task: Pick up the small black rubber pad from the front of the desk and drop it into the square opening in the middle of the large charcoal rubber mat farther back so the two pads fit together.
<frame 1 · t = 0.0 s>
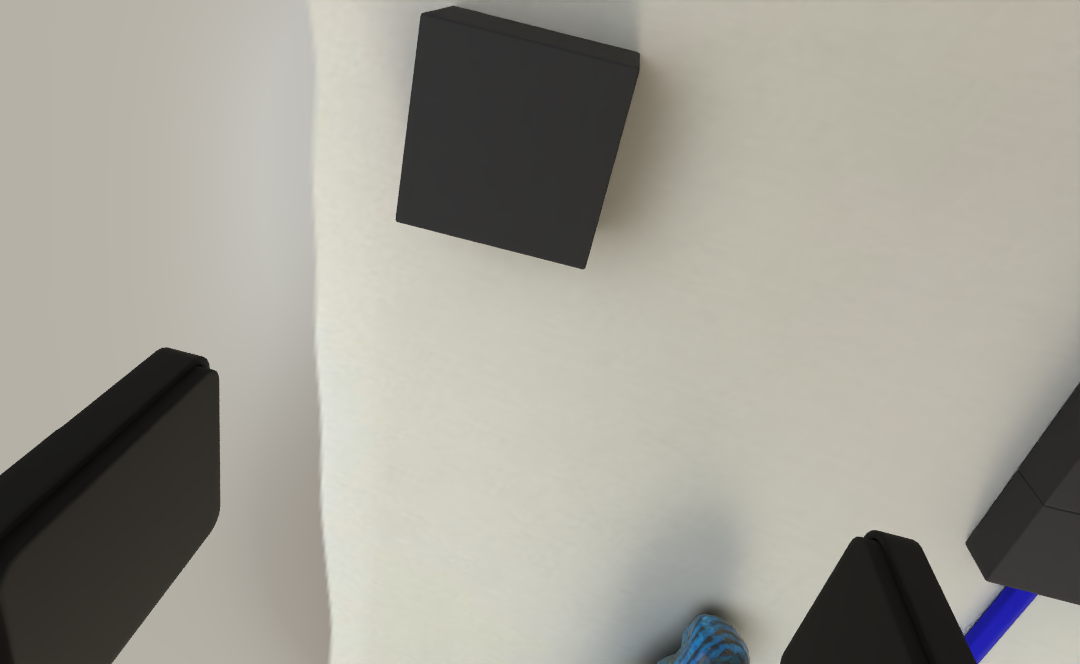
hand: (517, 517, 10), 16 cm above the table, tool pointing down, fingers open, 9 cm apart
pencil: (980, 617, 31), on the table
pad tile: (526, 125, 23), on the table
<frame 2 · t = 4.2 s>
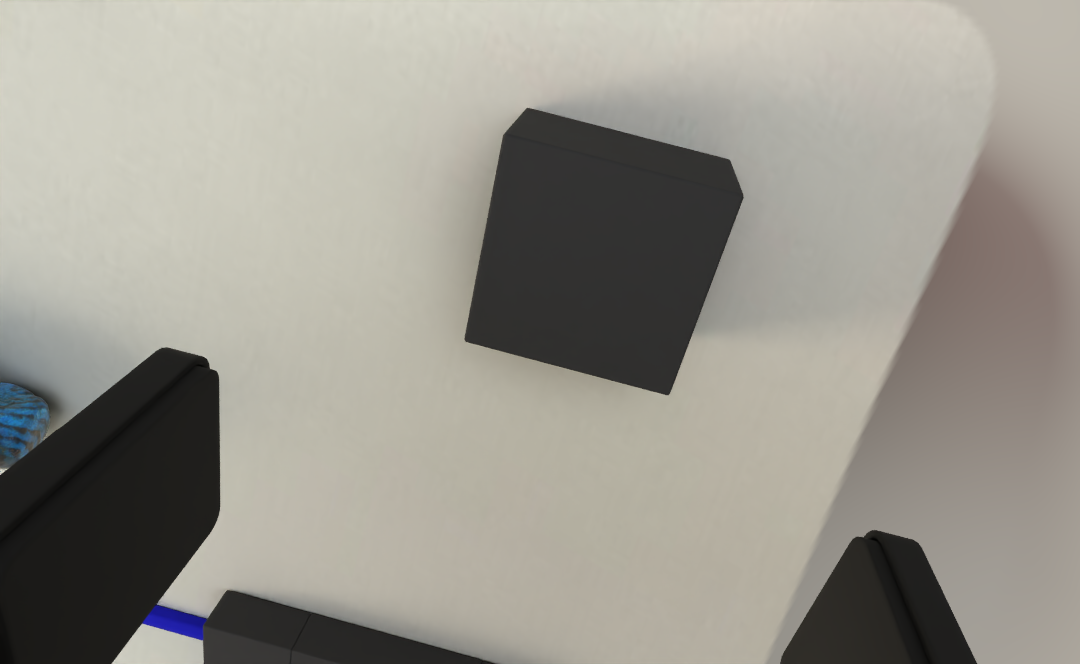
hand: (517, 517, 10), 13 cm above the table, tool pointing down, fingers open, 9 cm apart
pencil: (153, 600, 34), on the table
pad tile: (601, 230, 21), on the table
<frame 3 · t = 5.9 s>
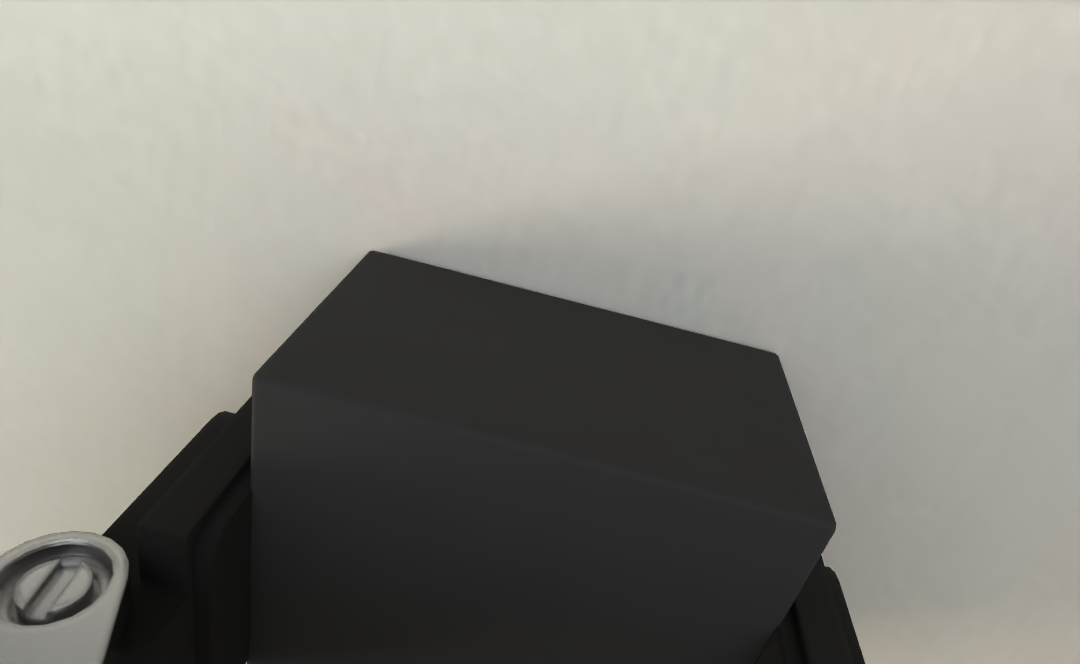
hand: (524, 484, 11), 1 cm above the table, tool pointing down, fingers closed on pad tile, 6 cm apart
pad tile: (530, 460, 11), on the table, touching gripper
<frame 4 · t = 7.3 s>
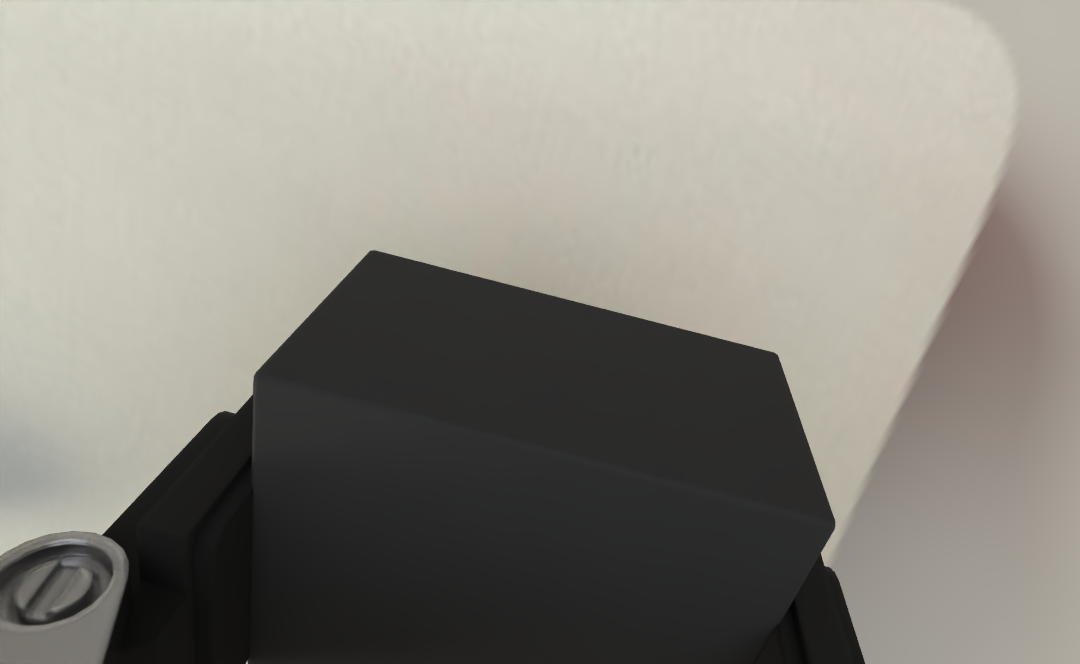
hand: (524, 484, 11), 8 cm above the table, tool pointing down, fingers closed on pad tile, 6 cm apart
pad tile: (530, 459, 11), point 7 cm above the table, touching gripper
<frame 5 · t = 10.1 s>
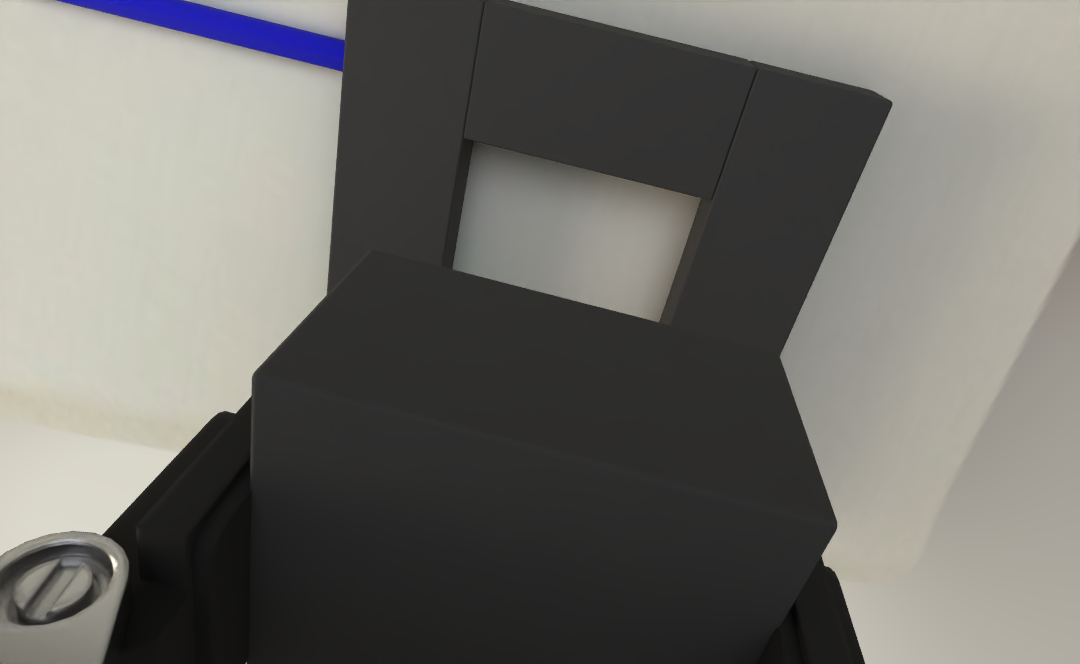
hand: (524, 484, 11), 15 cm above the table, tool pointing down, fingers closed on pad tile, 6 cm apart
pencil: (255, 29, 24), on the table
pad tile: (530, 460, 11), point 15 cm above the table, touching gripper
pad mat: (564, 260, 26), on the table
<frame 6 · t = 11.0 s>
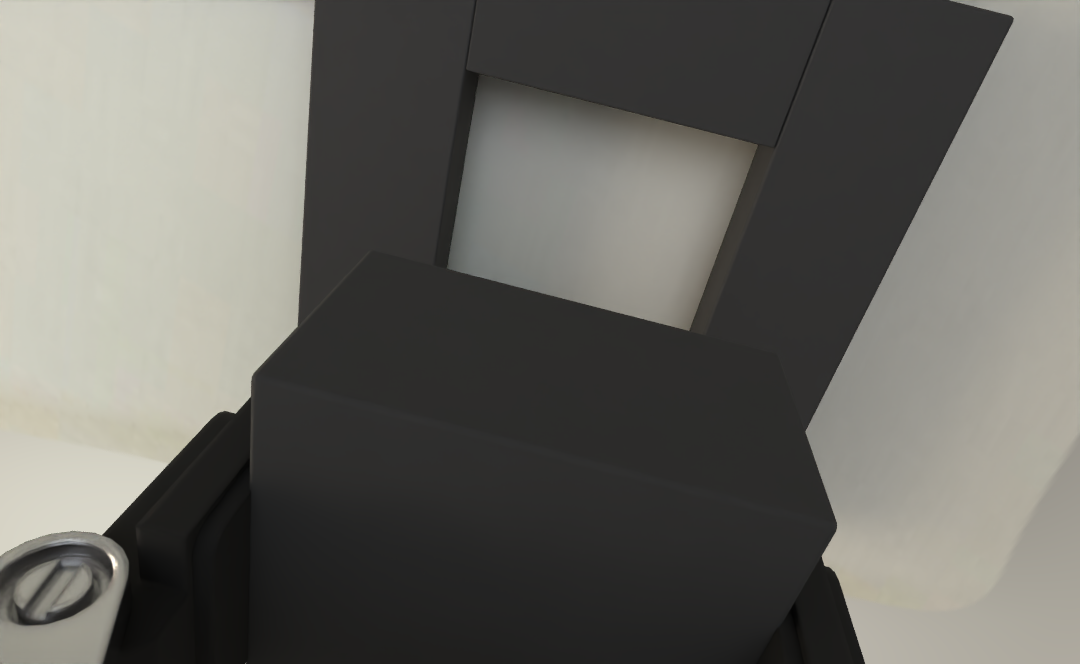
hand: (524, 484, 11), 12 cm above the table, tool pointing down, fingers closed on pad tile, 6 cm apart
pad tile: (530, 460, 11), point 11 cm above the table, touching gripper
pad mat: (586, 229, 21), on the table
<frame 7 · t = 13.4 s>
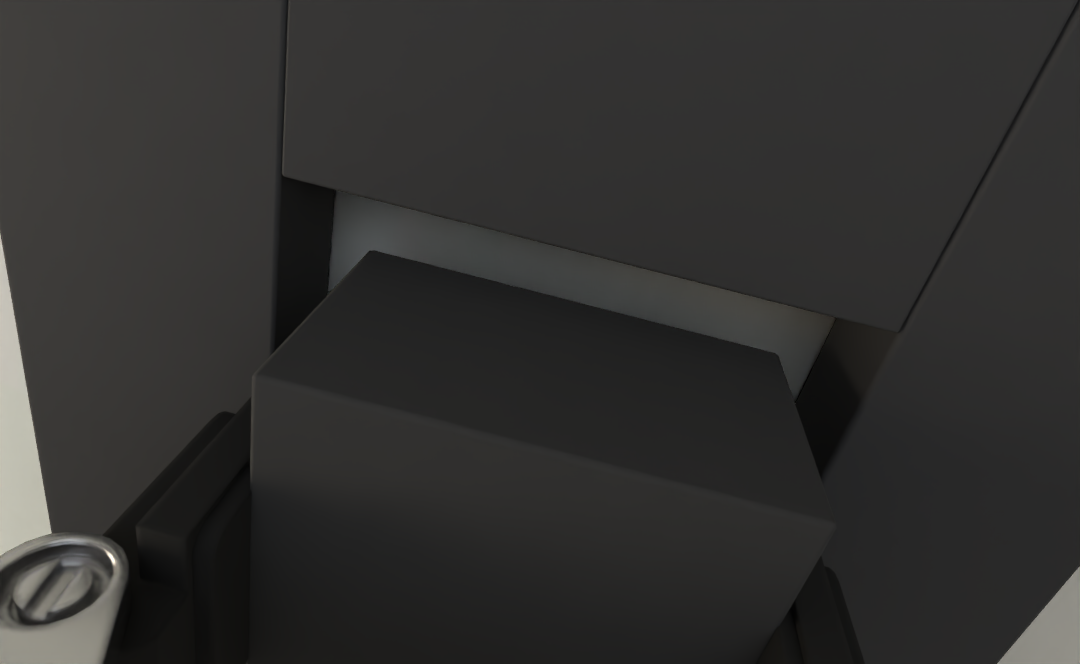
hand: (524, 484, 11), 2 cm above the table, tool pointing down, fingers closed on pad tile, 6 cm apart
pad tile: (530, 460, 11), point 1 cm above the table, touching gripper
pad mat: (540, 417, 12), on the table
when the fingers open (3 cm above the table, at t = 21.5 s): pad tile drops 2 cm, resting in pad mat.
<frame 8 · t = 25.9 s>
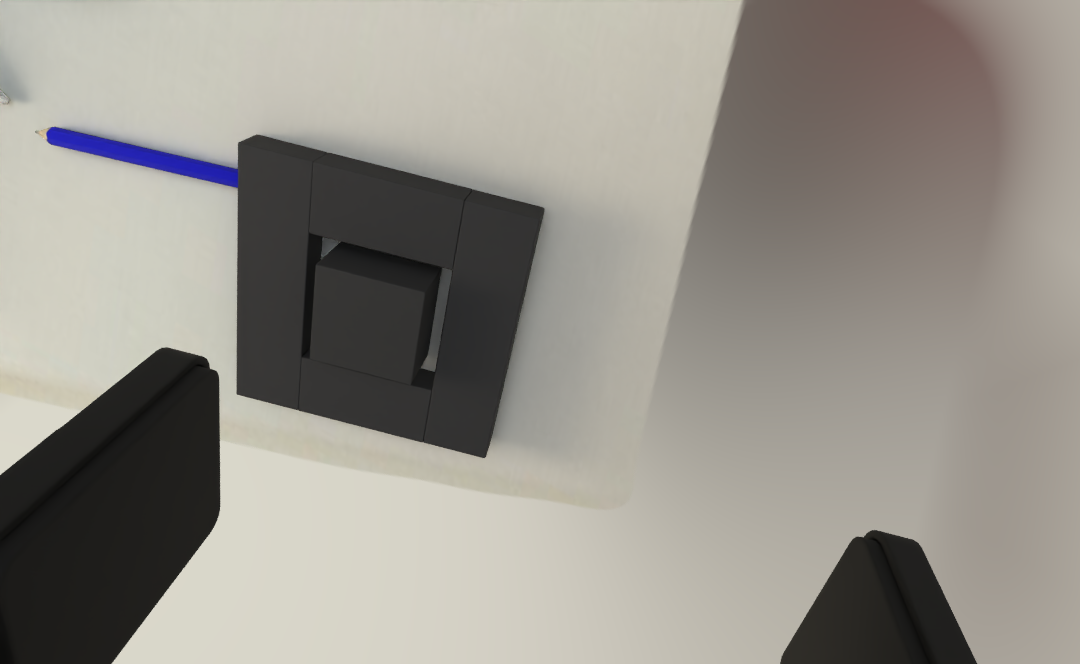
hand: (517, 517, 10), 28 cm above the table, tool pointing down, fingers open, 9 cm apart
pencil: (190, 162, 39), on the table, touching pad mat
pad tile: (385, 300, 41), resting in pad mat
pad mat: (384, 300, 41), on the table
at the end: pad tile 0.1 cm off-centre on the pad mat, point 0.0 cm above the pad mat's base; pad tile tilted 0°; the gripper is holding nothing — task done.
